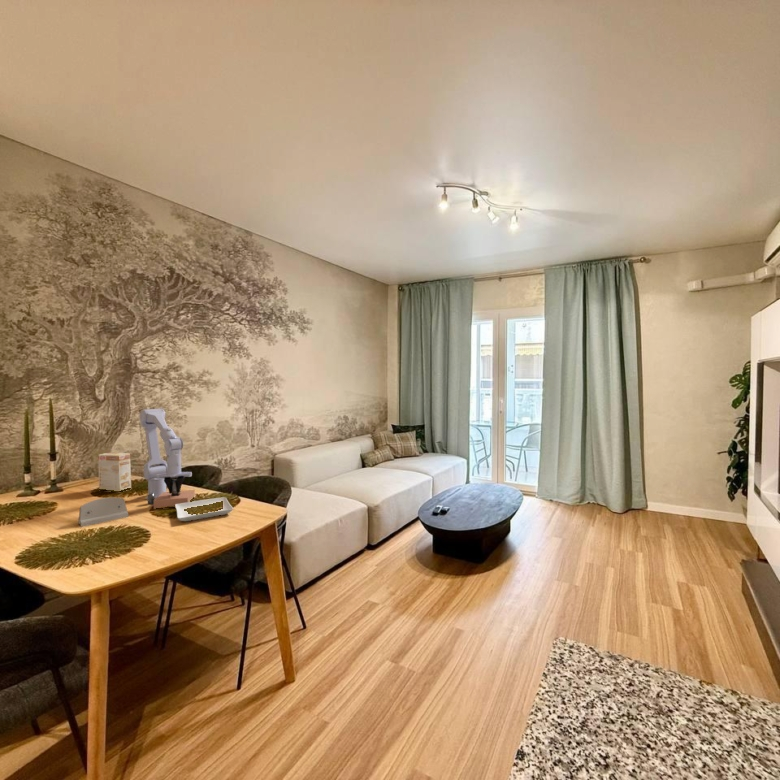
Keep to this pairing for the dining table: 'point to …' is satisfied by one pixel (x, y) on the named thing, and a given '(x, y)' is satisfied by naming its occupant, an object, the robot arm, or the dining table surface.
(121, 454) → the coffeecake box
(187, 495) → the hole block
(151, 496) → the short pin
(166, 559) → the dining table surface
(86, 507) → the grey bracket
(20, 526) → the dining table surface
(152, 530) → the dining table surface
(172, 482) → the tall pin
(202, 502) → the salad plate
